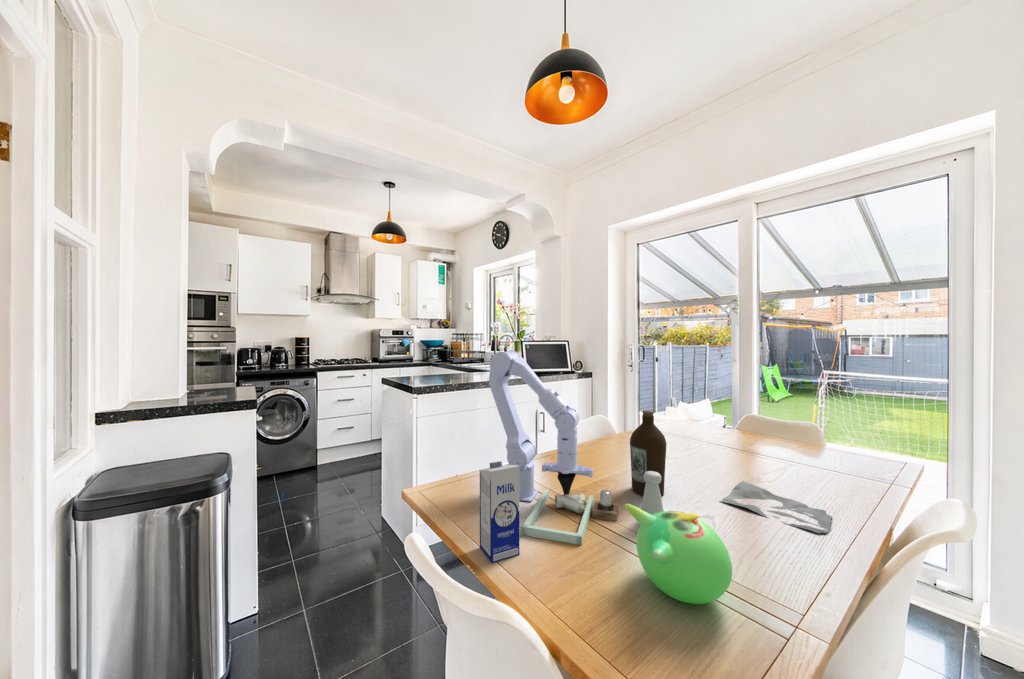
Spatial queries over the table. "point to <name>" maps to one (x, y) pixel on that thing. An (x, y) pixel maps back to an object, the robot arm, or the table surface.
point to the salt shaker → (652, 493)
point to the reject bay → (552, 533)
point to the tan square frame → (605, 512)
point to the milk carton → (499, 511)
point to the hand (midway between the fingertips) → (567, 498)
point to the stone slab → (755, 492)
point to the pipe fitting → (571, 502)
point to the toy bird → (682, 555)
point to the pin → (605, 500)
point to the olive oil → (647, 453)
